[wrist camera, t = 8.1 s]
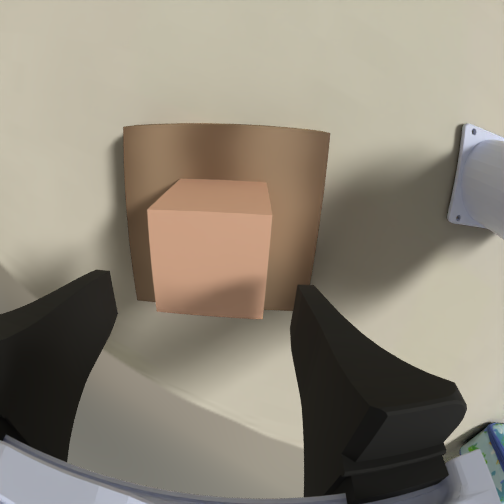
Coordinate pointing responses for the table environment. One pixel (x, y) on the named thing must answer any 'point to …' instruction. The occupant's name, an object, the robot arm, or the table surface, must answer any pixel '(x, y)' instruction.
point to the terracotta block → (211, 248)
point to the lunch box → (490, 453)
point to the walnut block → (237, 169)
